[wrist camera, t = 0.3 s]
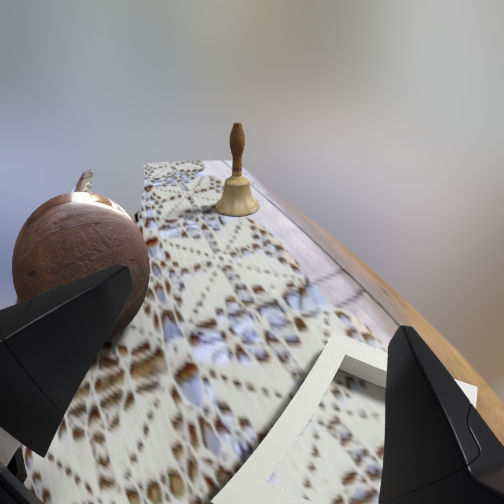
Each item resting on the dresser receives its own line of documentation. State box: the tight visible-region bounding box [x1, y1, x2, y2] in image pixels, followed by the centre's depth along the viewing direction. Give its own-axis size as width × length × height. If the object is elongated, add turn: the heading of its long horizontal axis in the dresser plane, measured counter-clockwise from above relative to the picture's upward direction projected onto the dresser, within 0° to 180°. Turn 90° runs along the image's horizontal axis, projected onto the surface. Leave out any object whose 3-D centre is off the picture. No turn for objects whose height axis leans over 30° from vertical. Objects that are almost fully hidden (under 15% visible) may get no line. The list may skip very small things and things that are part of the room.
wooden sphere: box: [12, 192, 150, 340], centre depth 23 cm, size 15×15×15 cm
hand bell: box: [215, 123, 259, 216], centre depth 47 cm, size 8×8×16 cm
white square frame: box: [210, 331, 478, 504], centre depth 15 cm, size 18×17×2 cm
